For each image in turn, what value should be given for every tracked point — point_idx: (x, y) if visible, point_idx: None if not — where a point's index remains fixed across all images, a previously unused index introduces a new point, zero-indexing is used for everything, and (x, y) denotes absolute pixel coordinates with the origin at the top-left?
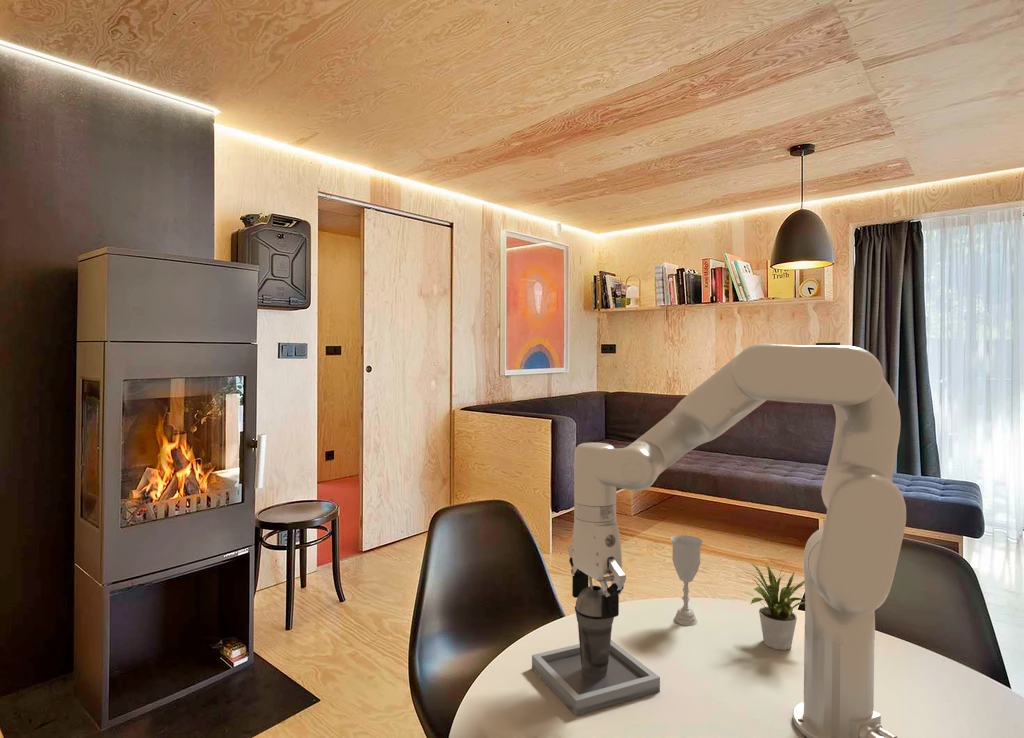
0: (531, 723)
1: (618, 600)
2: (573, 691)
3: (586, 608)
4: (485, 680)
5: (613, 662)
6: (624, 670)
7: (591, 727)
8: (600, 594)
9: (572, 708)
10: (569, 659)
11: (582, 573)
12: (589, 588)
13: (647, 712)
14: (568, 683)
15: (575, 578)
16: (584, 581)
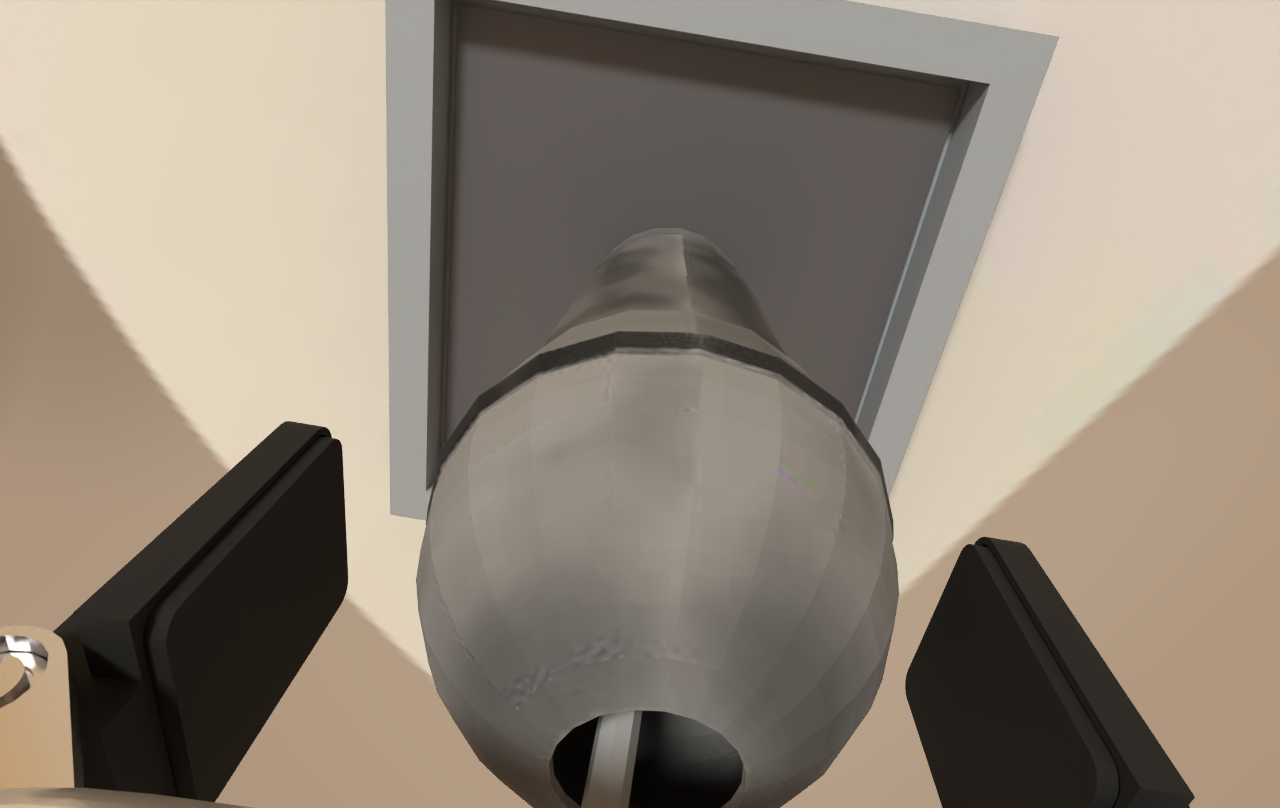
0: None
1: (1116, 686)
2: None
3: (730, 762)
4: (419, 659)
5: (646, 112)
6: (764, 124)
7: (937, 544)
8: (809, 773)
9: None
10: (475, 327)
11: (128, 753)
12: (455, 648)
13: (1070, 271)
14: None
15: (206, 799)
16: (235, 616)
